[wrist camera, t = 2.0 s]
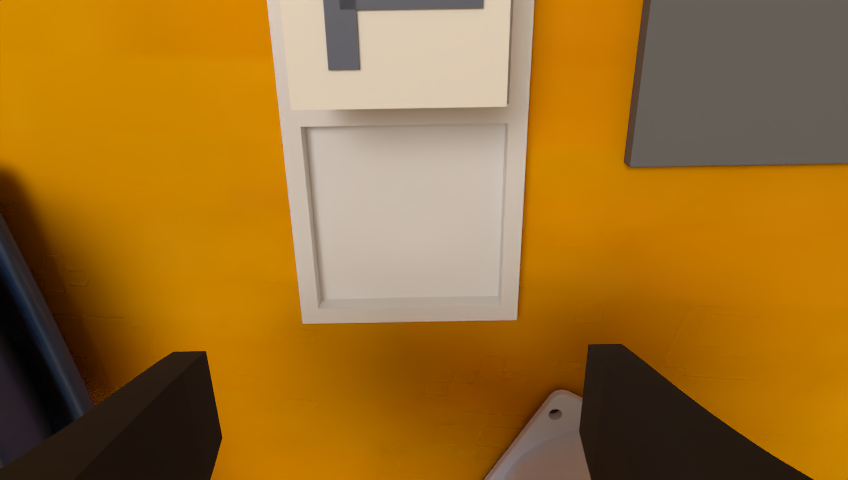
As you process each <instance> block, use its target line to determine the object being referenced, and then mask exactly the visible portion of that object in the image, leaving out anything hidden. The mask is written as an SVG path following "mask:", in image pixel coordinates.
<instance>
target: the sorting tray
mask: <svg viewBox="0 0 848 480" xmlns="http://www.w3.org/2000/svg"><path fill="white" fill-rule="evenodd" d="M267 6H268V15H269V24H270V33H271V42H272V51H273V60H274V69H275V78H276V87H277V97H278V106H279V115H280V124H281V133H282V142H283V151H284V160H285V169H286V178H287V187H288V196H289V205H290V214H291V223H292V232H293V241H294V251H295V260H296V269H297V278H298V287H299V296H300V305H301V314H302V323H303V324H319V323H376V322H434V321H491V320H517V311H518V292H519V274H520V256H521V237H522V219H523V201H524V182H525V164H526V146H527V127H528V109H529V91H530V72H531V54H532V36H533V18H534V0H511V9H510V34H509V59H508V84H507V107H459V108H398V109H338V110H291V105H290V96H289V86H288V76H287V66H286V57H285V47H284V37H283V27H282V18H281V8H280V0H267Z"/></svg>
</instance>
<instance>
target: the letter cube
mask: <svg viewBox="0 0 848 480" xmlns="http://www.w3.org/2000/svg"><path fill="white" fill-rule="evenodd" d="M280 8H281V18H282V27H283V37H284V47H285V57H286V66H287V76H288V86H289V96H290V105H291V110H338V109H398V108H459V107H507V84H508V59H509V34H510V9H511V0H280Z"/></svg>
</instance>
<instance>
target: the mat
mask: <svg viewBox="0 0 848 480" xmlns="http://www.w3.org/2000/svg"><path fill="white" fill-rule="evenodd" d="M624 162H625V163H626V164H627V165H628V166H629V167H659V166H719V165H779V164H839V163H848V0H644V2H643V10H642V18H641V26H640V35H639V43H638V51H637V59H636V67H635V76H634V84H633V92H632V100H631V108H630V117H629V125H628V133H627V141H626V149H625V158H624Z"/></svg>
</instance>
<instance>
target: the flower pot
mask: <svg viewBox="0 0 848 480" xmlns="http://www.w3.org/2000/svg"><path fill="white" fill-rule="evenodd" d="M94 407H95V405H94V403H93V400H92V398H91V396H90V394H89V392H88V390H87V388H86V385H85V383H84V381H83V379H82V377H81V375H80V373H79V371H78V368H77V366H76V364H75V362H74V360H73V358H72V356H71V354H70V351H69V349H68V347H67V345H66V343H65V341H64V339H63V337H62V334H61V332H60V330H59V328H58V326H57V324H56V322H55V320H54V318H53V316H52V314H51V311H50V309H49V307H48V305H47V303H46V301H45V299H44V297H43V295H42V294H41V292H40V290H39V288H38V286H37V284H36V282H35V280H34V278H33V276H32V274H31V272H30V270H29V268H28V265H27V263H26V261H25V259H24V257H23V255H22V253H21V251H20V249H19V247H18V245H17V244H16V242H15V240H14V238H13V236H12V234H11V232H10V230H9V228H8V226H7V224H6V222H5V220H4V218H3V216H2V215H1V213H0V469H1V468H2V467H4V466H6V465H7V464H9V463H11V462H12V461H14V460H15V459H17V458H19V457H20V456H22V455H24V454H25V453H27V452H28V451H30V450H31V449H33V448H34V447H36V446H37V445H39V444H40V443H42V442H43V441H45V440H46V439H48V438H49V437H51V436H52V435H54V434H55V433H57V432H59V431H60V430H62V429H63V428H65V427H66V426H68V425H69V424H71V423H72V422H74V421H75V420H77V419H78V418H80V417H81V416H83V415H84V414H85V413H87V412H88V411H90V410H91V409H92V408H94Z"/></svg>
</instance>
